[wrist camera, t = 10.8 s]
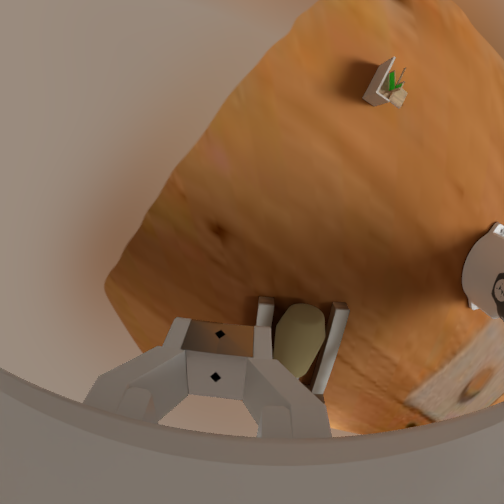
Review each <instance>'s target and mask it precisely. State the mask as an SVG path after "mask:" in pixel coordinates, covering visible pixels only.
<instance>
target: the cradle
mask: <svg viewBox="0 0 504 504" xmlns="http://www.w3.org/2000/svg"><path fill="white" fill-rule="evenodd" d="M273 312H274V298H272V297H260V296H259V301H258V310H257V318H256V326H268V327H270V328H271V325H272V318H273ZM349 312H350V310H349V308H348V306H347V304H346V303H344V302H333V303H332V307H331V311H330V315H329V319H328V323H327V327H326V331H325V339H324V341H323V344H322V345H321V349H320V352H319V356H318V359H317V363H316V366H315V369H314V373H313V376H312V379H311V383H310V385H304V386H305V387H306V388H307V389H308V390H309V391H311V392H312V393H313V394H314V395H315V396H316V397H317V398H318V399H319V400H320V401H321V402H322V403H325V402H324V397H323V392H324V390H325V387H326V384H327V381H328V378H329V376H330V373H331V370H332V367H333V364H334V361H335V358H336V355H337V352H338V349H339V346H340V342H341V339H342V336H343V333H344V329H345V326H346V323H347V319H348V316H349Z"/></svg>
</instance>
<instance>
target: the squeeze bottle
mask: <svg viewBox="0 0 504 504" xmlns="http://www.w3.org/2000/svg"><path fill="white" fill-rule="evenodd" d="M324 339H325V318H324V314H323V313H322V312H321V310H320V309H318V308H316V307H315V306H313V305H310V304H305V303H297V304H293V305H291V306H289V308H288V309H287V311H286V312H285V314H284V315H283V316H282V318H281V319H280V321H279V322H278V324H277V325H276V333H275V342H274V351H273V359H275V360H278V361H279V362H280V363H281V364H282V365H283V366H284V367H285V368H286V369H287V370H288V371H289V372H290V373H291V374H293V375H294V376H295V377H296V378H297V379H299V377H302V376H303V375H305V374H306V373H307V371H308V369H309V367H310V366H311V364H312V362H313V360H314V358H315V357H316V355H317V353H318V351H319V349H320V347H321V345H322V344H323V341H324Z"/></svg>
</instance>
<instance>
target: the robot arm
mask: <svg viewBox="0 0 504 504" xmlns="http://www.w3.org/2000/svg"><path fill="white" fill-rule="evenodd" d="M462 286H463V290H464V292H465V294H466V295H467V297H468V302H469V307H470V308H471V309H472V310H475V309H479V308H480V309H481V310H482V311H483V312H485V313H486V314H487V315H488V316H490V317H491V318H492V319H496V318H501V319H502V320H503V321H504V226H503V225H502V224H500V223H499V222H496V223H495V224H494V225H493V227H492V228H491V230H490V231H489V232H488V233H487V234H486V235H484V236H483V237H482V238H480V239H479V240H478V241H477V242H476V244H475V245H474V246H473V248H472V249H471V251H470V253H469V254H468V257H467V259H466V261H465V264H464V268H463V273H462ZM188 394H193V395H201V396H210V397H215V396H216V397H220V398H226V399H234V400H243V403H244V404H245V406H246V408H247V409H248V411H249V412H250V414H251V415H252V417H253V418H254V420H255V421H256V423H257V424H258V426H259V428H258V433H257V437H244V436H232V435H222V434H214V433H206V432H199V431H192V430H186V429H180V428H174V427H169V426H164V425H159V424H158V421H159V420H160V419H162V418H163V417H164V416H165V415H166V414H167V413H169V412H170V411H171V410H172V409H173V408H174V407H176V406H177V405H178V404H179V403H180V402H181V401H182V400H183V399H185V398H186V397H187V396H188ZM0 504H504V402H501V403H498V404H496V405H493V406H490V407H487V408H484V409H481V410H478V411H475V412H472V413H469V414H465V415H462V416H459V417H455V418H451V419H447V420H444V421H439V422H435V423H431V424H427V425H422V426H417V427H412V428H407V429H401V430H395V431H389V432H382V433H374V434H366V435H357V436H345V437H332V434H331V429H330V424H329V419H328V415H327V410H326V405H325V404H324V403H322V402H321V401H320V400H319V399H318V398H317V397H316V396H315V395H314V394H313V393H312V392H311V391H309V390H308V389H307V388H306V387H305V386H304V385H303V384H302V383H301V382H300V381H299V380H298V379H297V378H296V377H295V376H294V375H293V374H291V373H290V372H289V371H288V370H287V369H286V368H285V367H284V366H283V365H282V364H281V363H280V362H279V361H278V360H275V359H272V340H271V328H270V327H268V326H246V325H233V324H223V323H217V322H210V321H203V320H196V319H189V318H181V317H177V318H175V319H174V322H173V324H172V326H171V328H170V330H169V332H168V335H167V337H166V339H165V341H164V343H163V346H162V347H161V346H157V347H155V348H153V349H151V350H149V351H147V352H145V353H143V354H141V355H140V356H138V357H136V358H134V359H132V360H130V361H128V362H126V363H124V364H122V365H120V366H118V367H116V368H114V369H113V370H110V371H108V372H106V373H104V374H102V375H100V376H99V377H98V378H97V380H96V381H95V383H94V385H93V387H92V388H91V390H90V391H89V393H88V395H87V397H86V398H85V400H84V402H83V403H80V402H77V401H74V400H71V399H69V398H66V397H64V396H61V395H59V394H56V393H54V392H51V391H49V390H46V389H44V388H41V387H39V386H37V385H35V384H33V383H30V382H28V381H26V380H24V379H22V378H20V377H18V376H16V375H14V374H12V373H10V372H8V371H6V370H4V369H2V368H0Z"/></svg>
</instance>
